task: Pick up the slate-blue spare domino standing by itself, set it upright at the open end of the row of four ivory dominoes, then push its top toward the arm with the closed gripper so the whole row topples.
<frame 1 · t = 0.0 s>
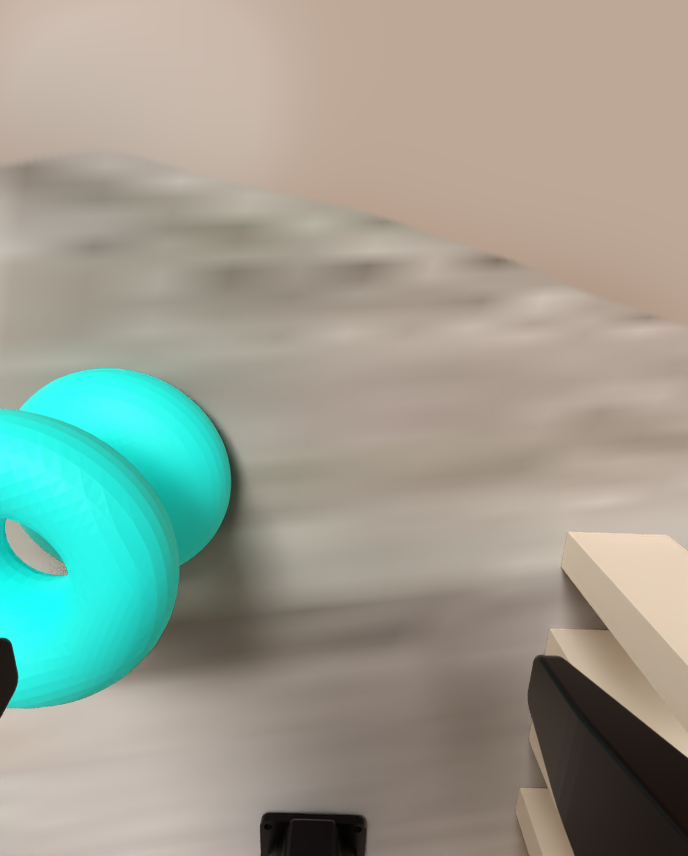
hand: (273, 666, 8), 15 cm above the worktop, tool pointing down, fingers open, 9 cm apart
ivory domino 4: (558, 800, 29), on the worktop
turquoise lobed shape: (136, 464, 23), on the worktop
ivory domino 2: (592, 645, 26), on the worktop
ivory domino 3: (574, 727, 27), on the worktop
ivory domino 1: (613, 551, 24), on the worktop
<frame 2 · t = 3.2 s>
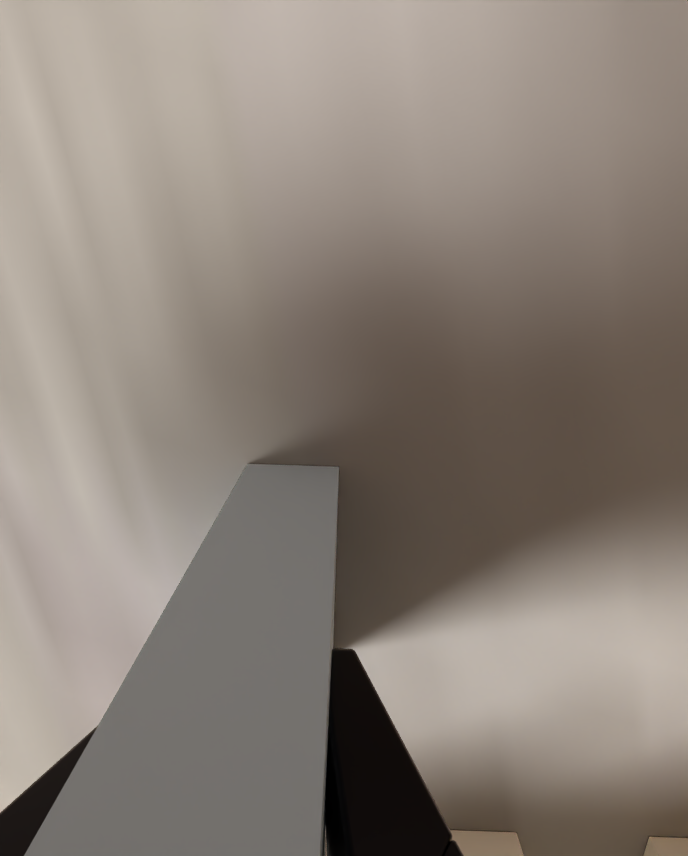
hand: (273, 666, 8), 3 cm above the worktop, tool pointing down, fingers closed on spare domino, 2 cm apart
spare domino: (293, 565, 11), on the worktop, touching gripper
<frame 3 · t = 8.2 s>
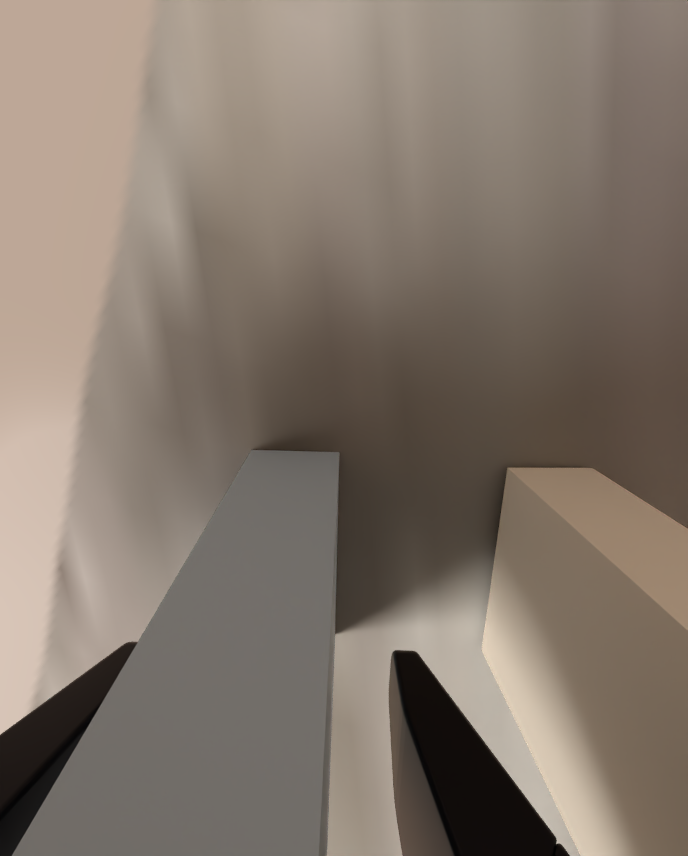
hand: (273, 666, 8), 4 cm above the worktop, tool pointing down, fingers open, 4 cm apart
spare domino: (295, 548, 11), on the worktop
ivory domino 1: (533, 564, 11), on the worktop
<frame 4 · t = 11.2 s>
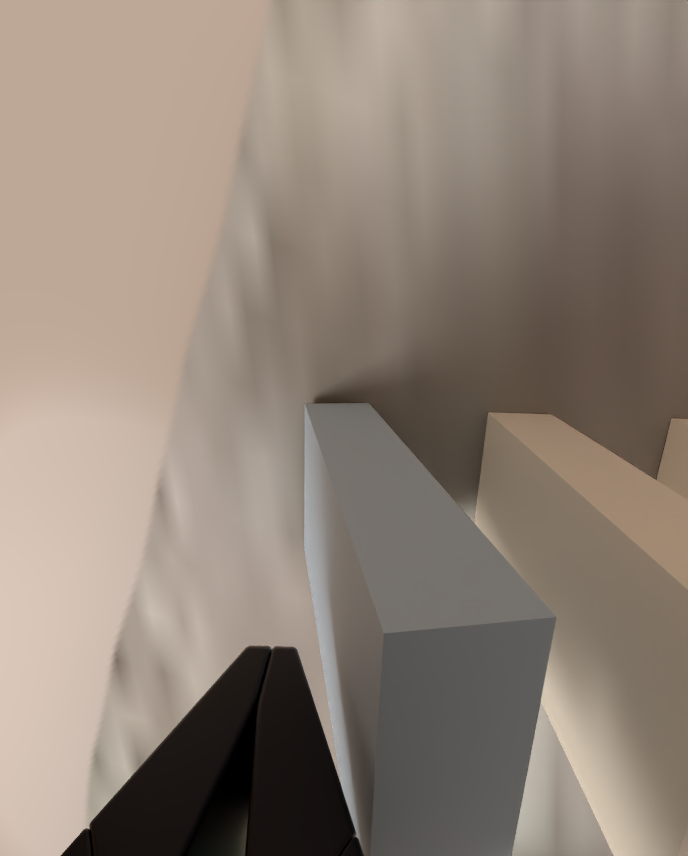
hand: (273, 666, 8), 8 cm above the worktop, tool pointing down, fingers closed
spare domino: (335, 478, 15), on the worktop, tilted 9°
ivory domino 2: (683, 491, 16), on the worktop
ivory domino 1: (509, 486, 16), on the worktop
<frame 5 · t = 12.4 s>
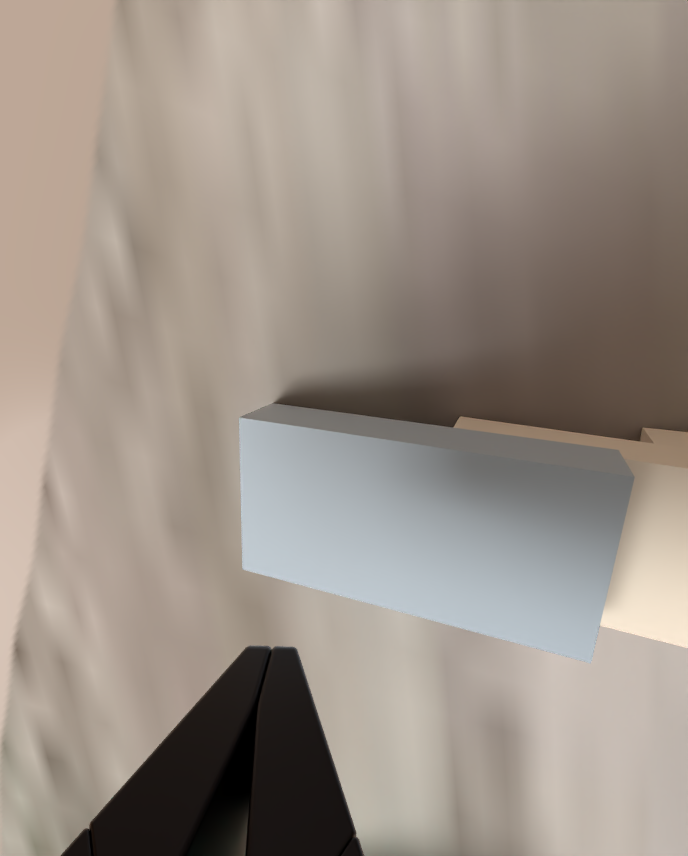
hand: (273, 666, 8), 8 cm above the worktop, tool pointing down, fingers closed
spare domino: (257, 485, 15), point 1 cm above the worktop, tilted 70°, touching ivory domino 1
ivory domino 2: (633, 509, 15), point 1 cm above the worktop, tilted 68°, touching ivory domino 3
ivory domino 1: (446, 498, 15), point 1 cm above the worktop, tilted 70°, touching spare domino
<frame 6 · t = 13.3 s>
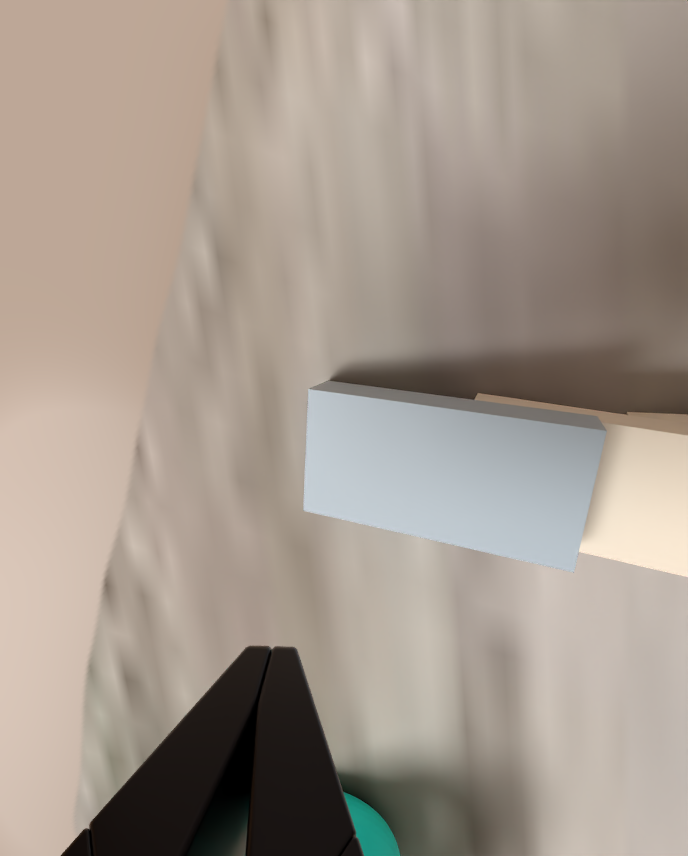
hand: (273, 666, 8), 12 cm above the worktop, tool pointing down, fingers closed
spare domino: (316, 444, 19), point 1 cm above the worktop, tilted 71°, touching ivory domino 1
turquoise lobed shape: (311, 833, 27), on the worktop
ivory domino 2: (623, 476, 19), point 1 cm above the worktop, tilted 69°, touching ivory domino 1, ivory domino 3
ivory domino 1: (465, 457, 19), point 1 cm above the worktop, tilted 70°, touching ivory domino 2, spare domino
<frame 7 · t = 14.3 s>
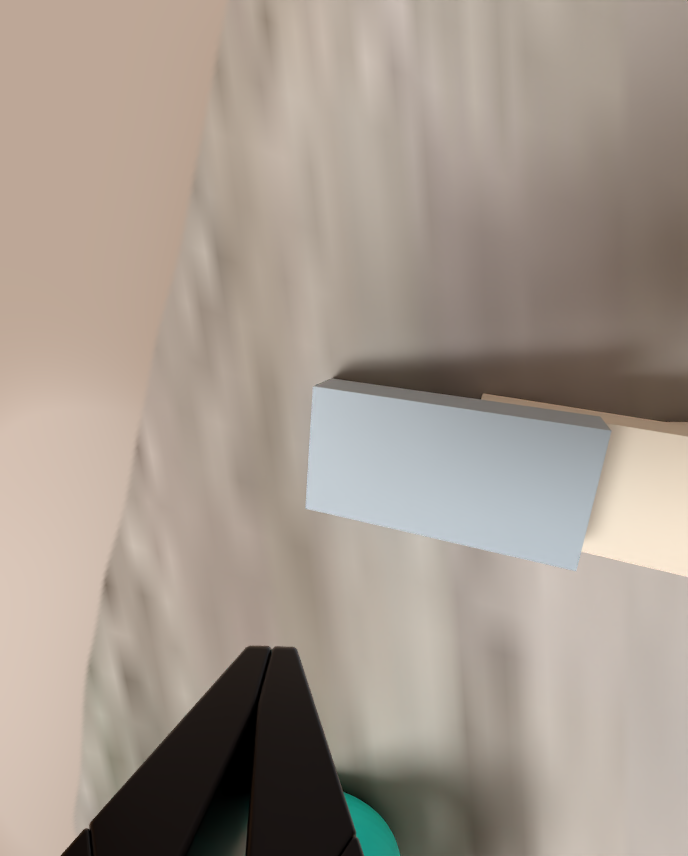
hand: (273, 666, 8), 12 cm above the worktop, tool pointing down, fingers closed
spare domino: (318, 442, 19), point 1 cm above the worktop, tilted 72°, touching ivory domino 1
turquoise lobed shape: (311, 833, 27), on the worktop
ivory domino 1: (470, 457, 19), point 1 cm above the worktop, tilted 72°, touching ivory domino 2, spare domino
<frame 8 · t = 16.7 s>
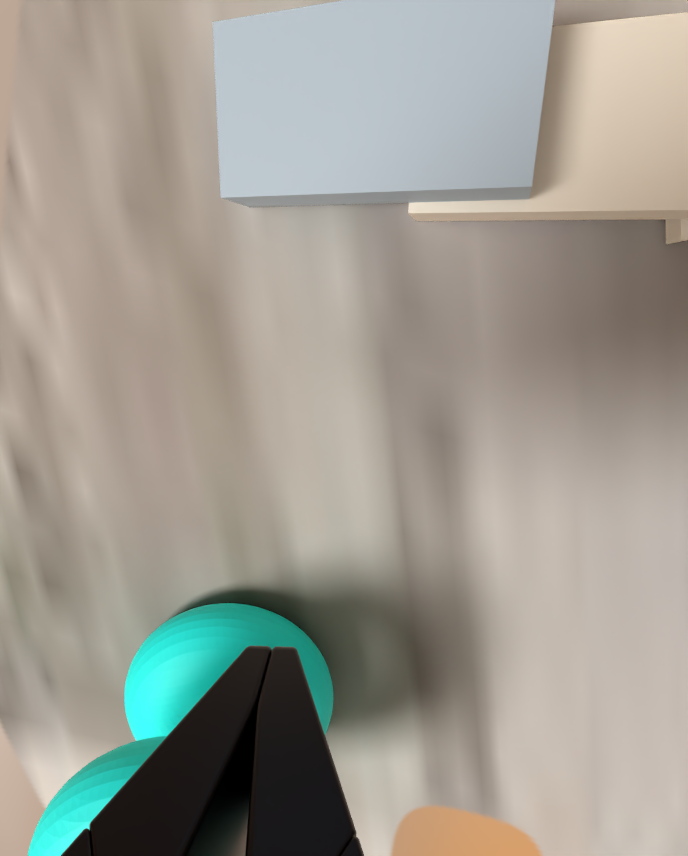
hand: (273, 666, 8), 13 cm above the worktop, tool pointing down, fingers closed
spare domino: (233, 123, 16), point 1 cm above the worktop, tilted 72°, touching ivory domino 1
turquoise lobed shape: (238, 670, 25), on the worktop
ivory domino 2: (671, 168, 17), point 1 cm above the worktop, tilted 70°, touching ivory domino 1
ivory domino 1: (417, 139, 16), point 1 cm above the worktop, tilted 75°, touching ivory domino 2, spare domino
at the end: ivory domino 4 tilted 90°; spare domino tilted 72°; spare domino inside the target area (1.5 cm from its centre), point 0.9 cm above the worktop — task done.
